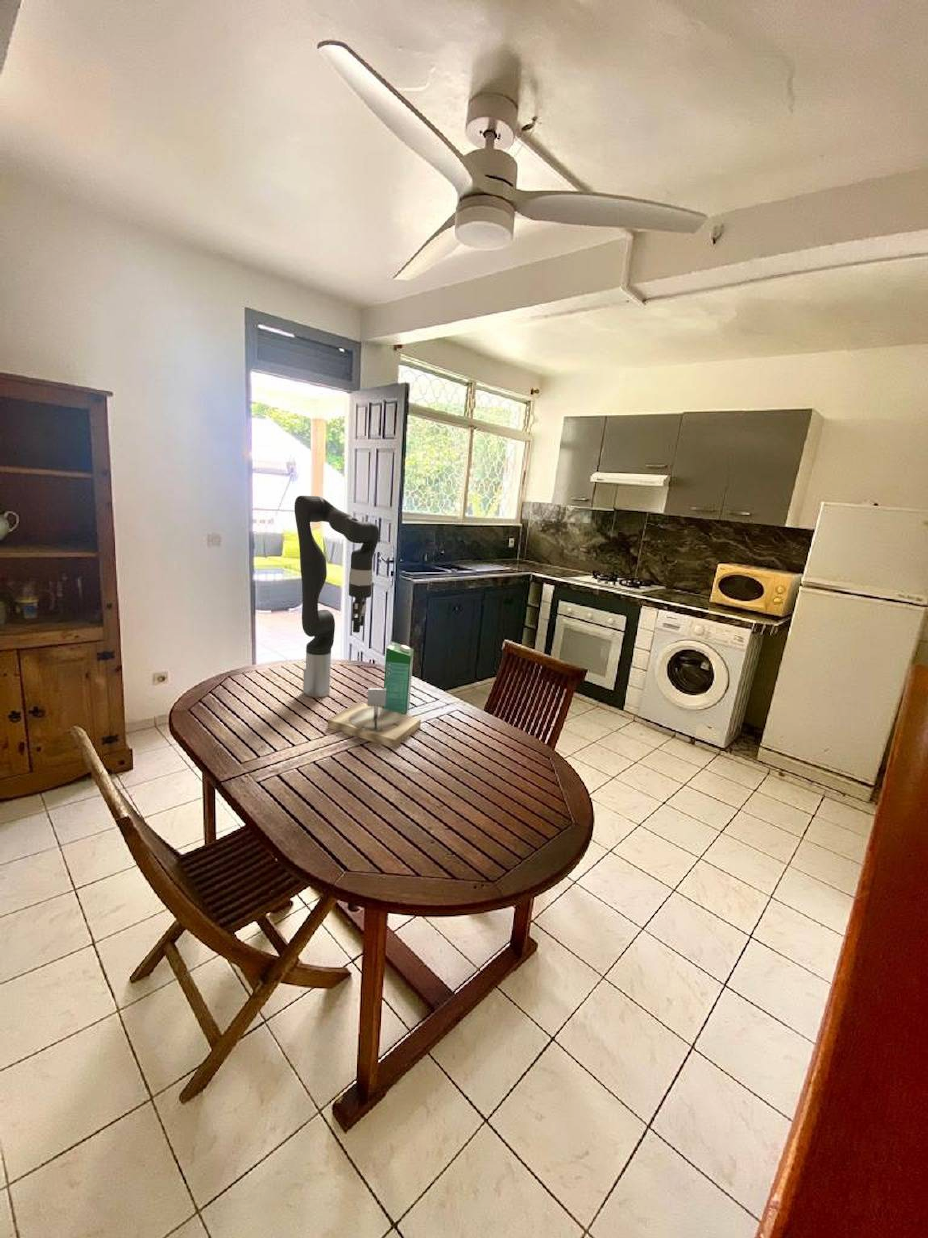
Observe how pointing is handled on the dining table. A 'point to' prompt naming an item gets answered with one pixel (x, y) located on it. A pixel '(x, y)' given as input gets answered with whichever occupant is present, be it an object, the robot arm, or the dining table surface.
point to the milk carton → (398, 677)
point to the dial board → (362, 724)
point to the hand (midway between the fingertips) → (358, 628)
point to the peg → (376, 700)
